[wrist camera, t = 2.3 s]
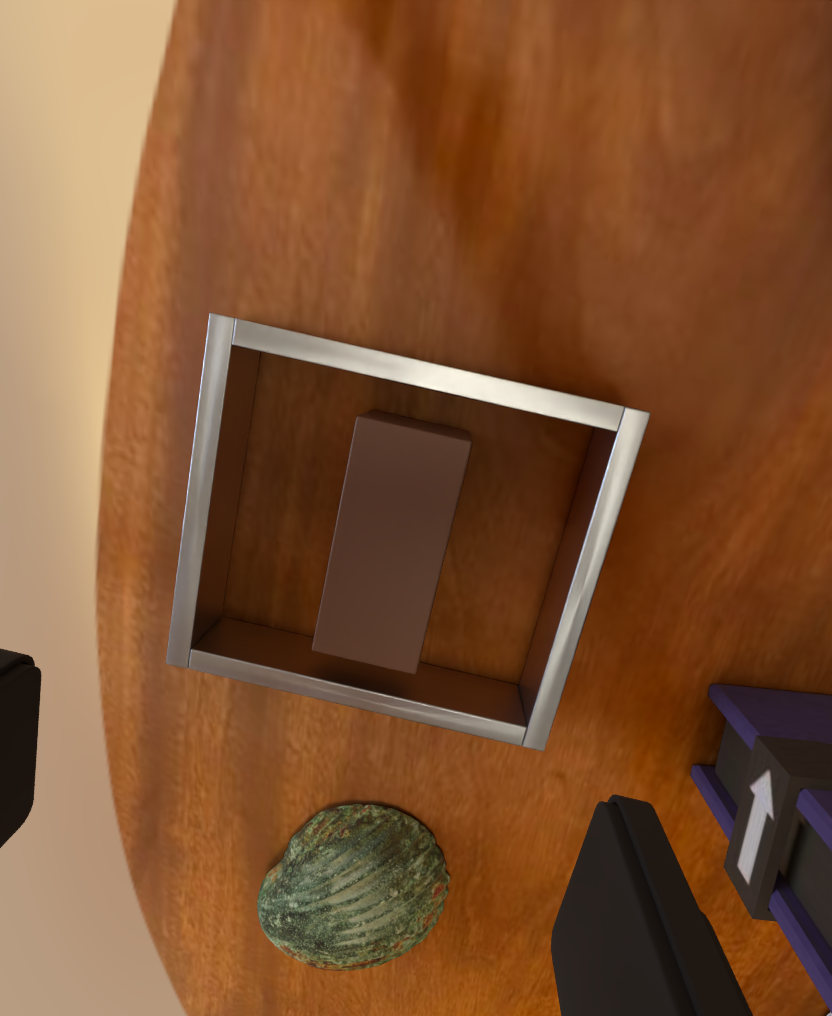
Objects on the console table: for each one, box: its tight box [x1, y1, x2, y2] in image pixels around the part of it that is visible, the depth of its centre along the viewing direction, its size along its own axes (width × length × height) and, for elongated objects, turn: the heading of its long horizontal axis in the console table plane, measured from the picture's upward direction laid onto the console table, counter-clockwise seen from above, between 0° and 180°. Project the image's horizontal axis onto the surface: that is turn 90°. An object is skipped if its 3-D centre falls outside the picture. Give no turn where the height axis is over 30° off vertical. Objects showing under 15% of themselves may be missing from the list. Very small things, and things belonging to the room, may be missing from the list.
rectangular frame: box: [166, 313, 650, 751], centre depth 25 cm, size 17×15×4 cm
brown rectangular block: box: [312, 410, 472, 674], centre depth 25 cm, size 4×10×4 cm, turn 168°
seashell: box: [257, 804, 450, 971], centre depth 29 cm, size 10×4×10 cm
